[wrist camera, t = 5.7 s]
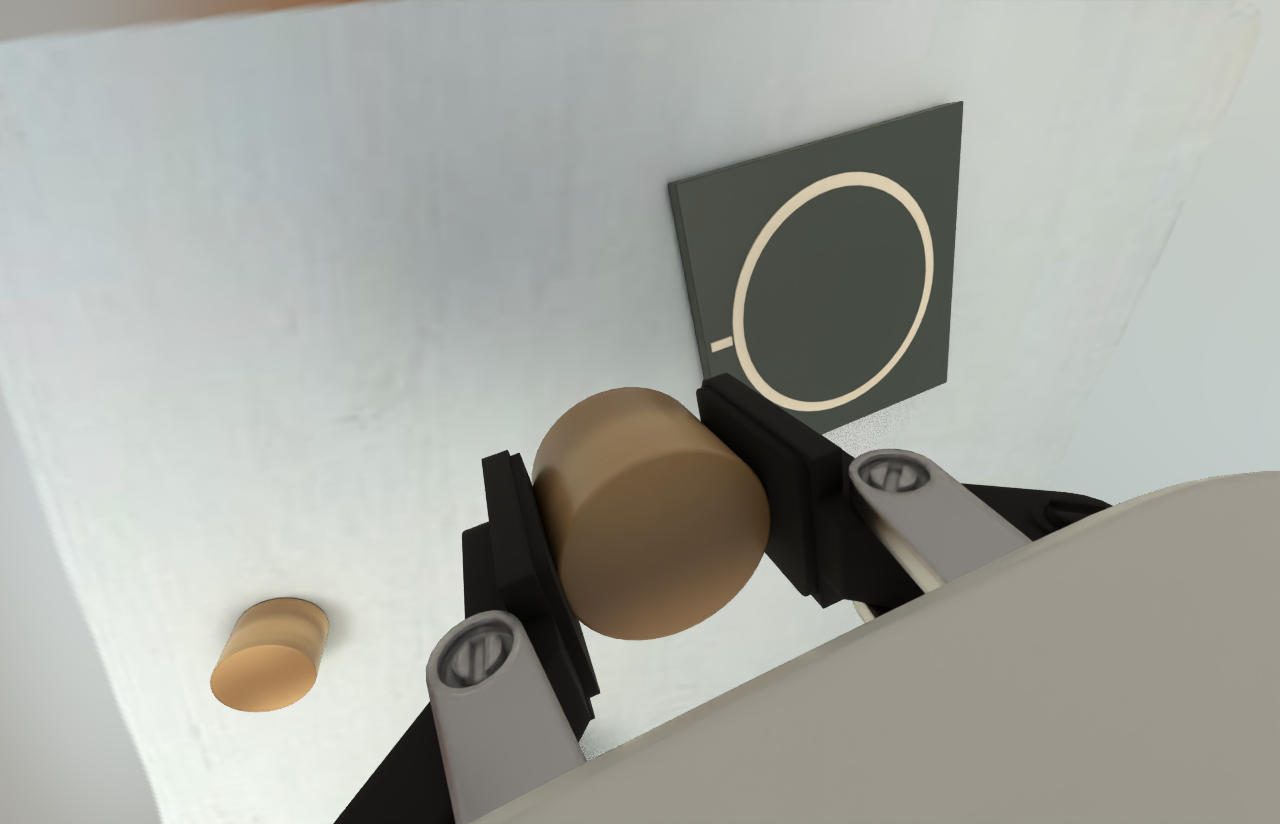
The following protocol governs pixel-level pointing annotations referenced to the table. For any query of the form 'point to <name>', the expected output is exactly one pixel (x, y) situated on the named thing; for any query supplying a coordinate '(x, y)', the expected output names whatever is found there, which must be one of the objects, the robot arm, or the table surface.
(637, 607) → the tan cork puck
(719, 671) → the table surface
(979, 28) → the table surface
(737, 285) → the slate board
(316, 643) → the tan cork stopper
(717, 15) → the table surface
